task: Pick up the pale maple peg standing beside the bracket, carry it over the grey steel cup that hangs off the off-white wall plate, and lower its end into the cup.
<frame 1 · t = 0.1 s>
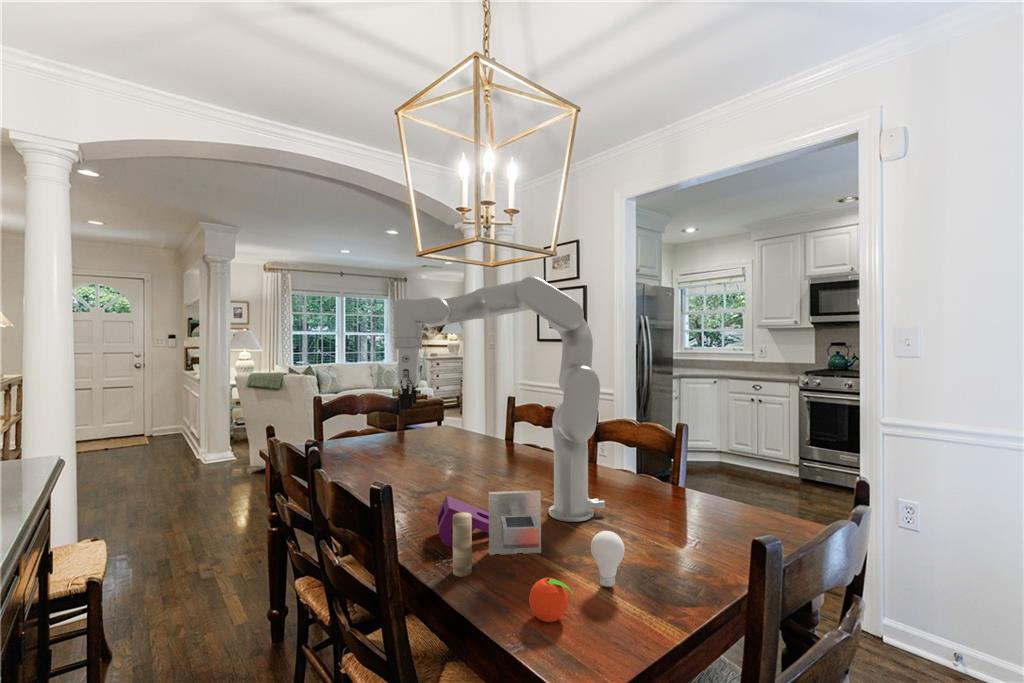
hand: (408, 406, 132), 31 cm above the table, tool pointing down, fingers open, 9 cm apart
clementine: (551, 620, 86), on the table
cup bracket: (519, 574, 102), on the table
light bulb: (607, 587, 97), on the table
mounting bracket: (475, 538, 121), on the table
maple peg: (462, 571, 103), on the table
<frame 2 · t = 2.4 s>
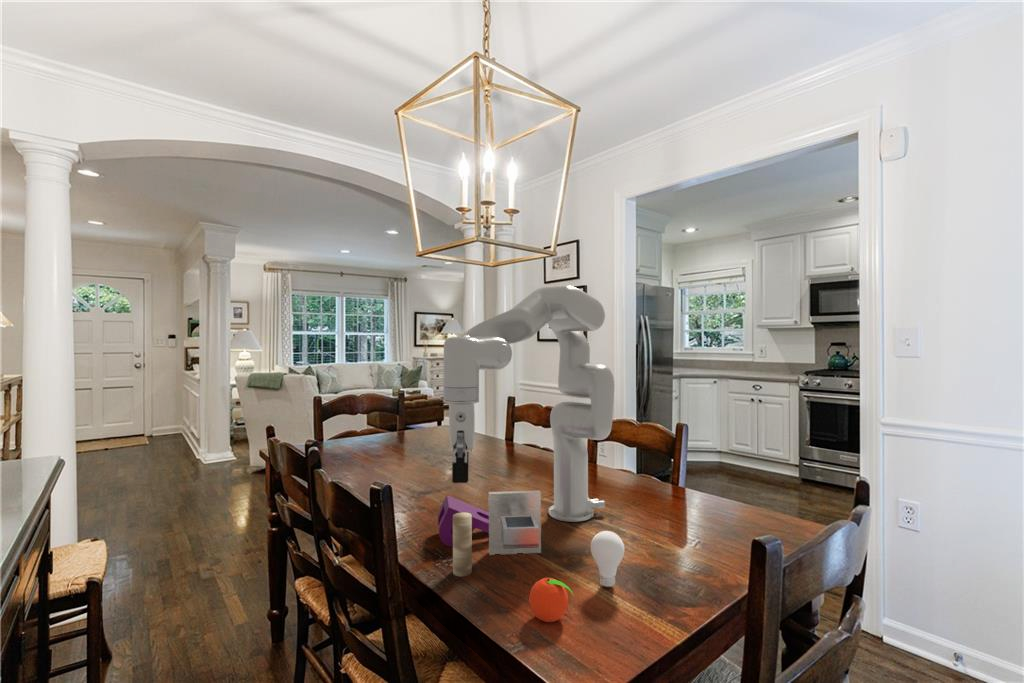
hand: (460, 475, 103), 21 cm above the table, tool pointing down, fingers open, 9 cm apart
nothing on the table moved.
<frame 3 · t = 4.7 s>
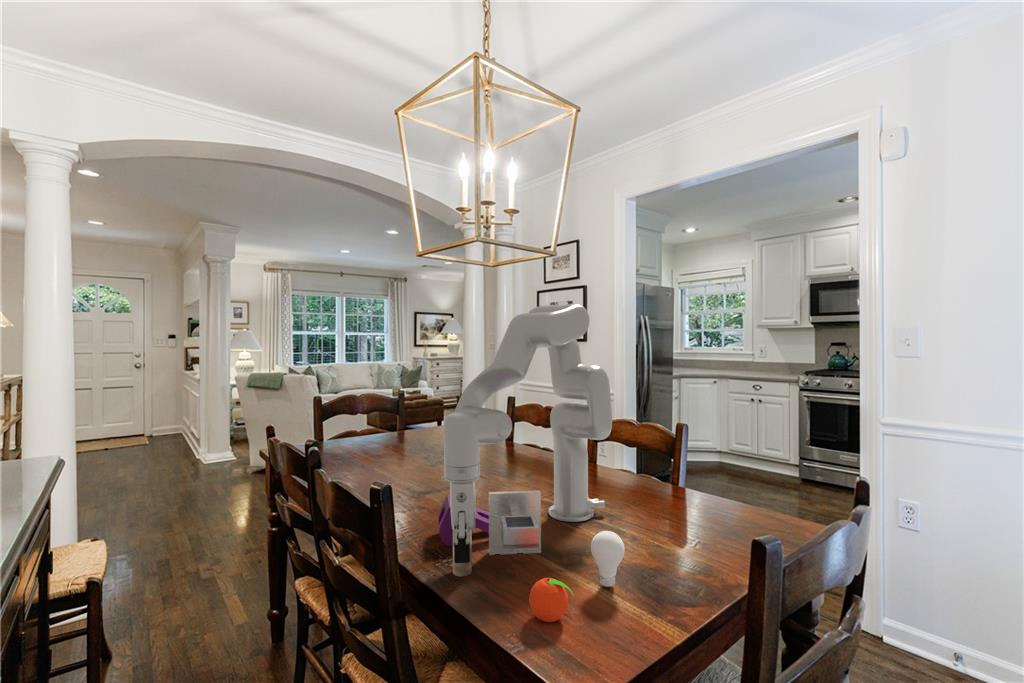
hand: (462, 556, 103), 3 cm above the table, tool pointing down, fingers closed on maple peg, 4 cm apart
maple peg: (462, 571, 103), on the table, touching gripper
everything else where it was.
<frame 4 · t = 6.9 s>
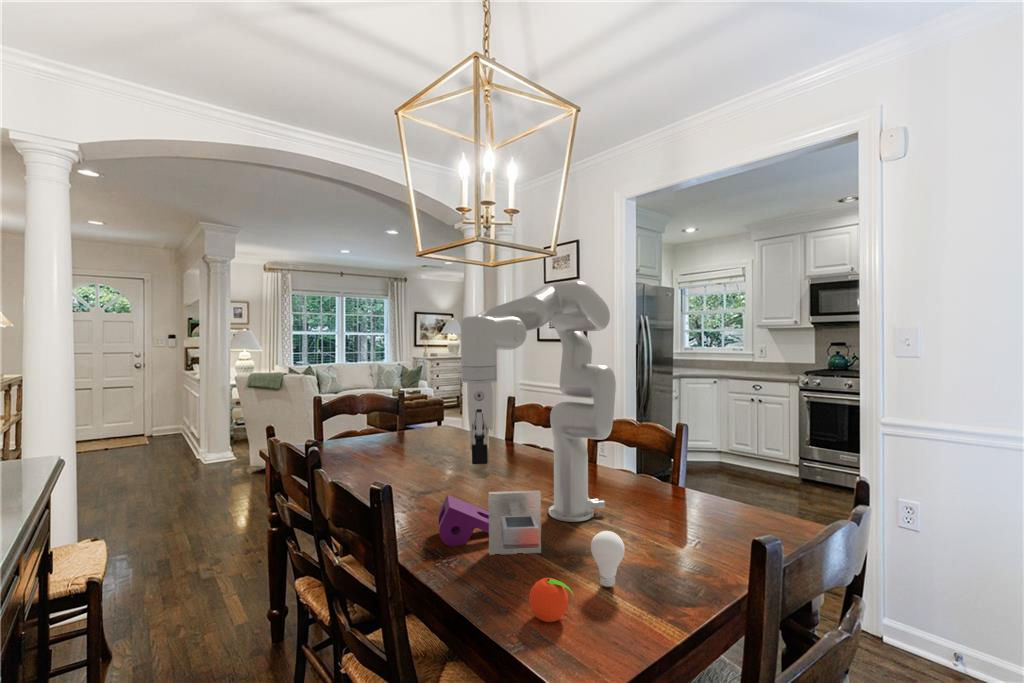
hand: (479, 460, 103), 24 cm above the table, tool pointing down, fingers closed on maple peg, 4 cm apart
maple peg: (479, 475, 103), point 21 cm above the table, touching gripper
everything else where it was.
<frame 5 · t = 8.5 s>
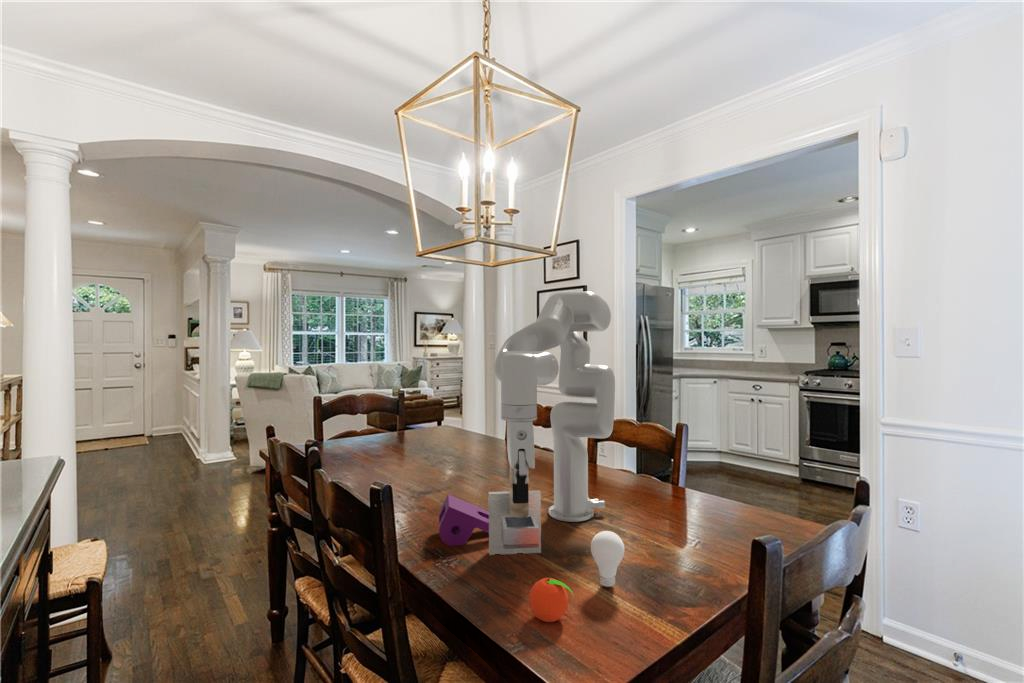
hand: (519, 498, 102), 16 cm above the table, tool pointing down, fingers closed on maple peg, 4 cm apart
maple peg: (519, 514, 102), point 13 cm above the table, touching gripper
everything else where it was.
when the fingers open (13 cm above the table, at t = 9.5 s): maple peg drops 1 cm, resting on cup bracket.
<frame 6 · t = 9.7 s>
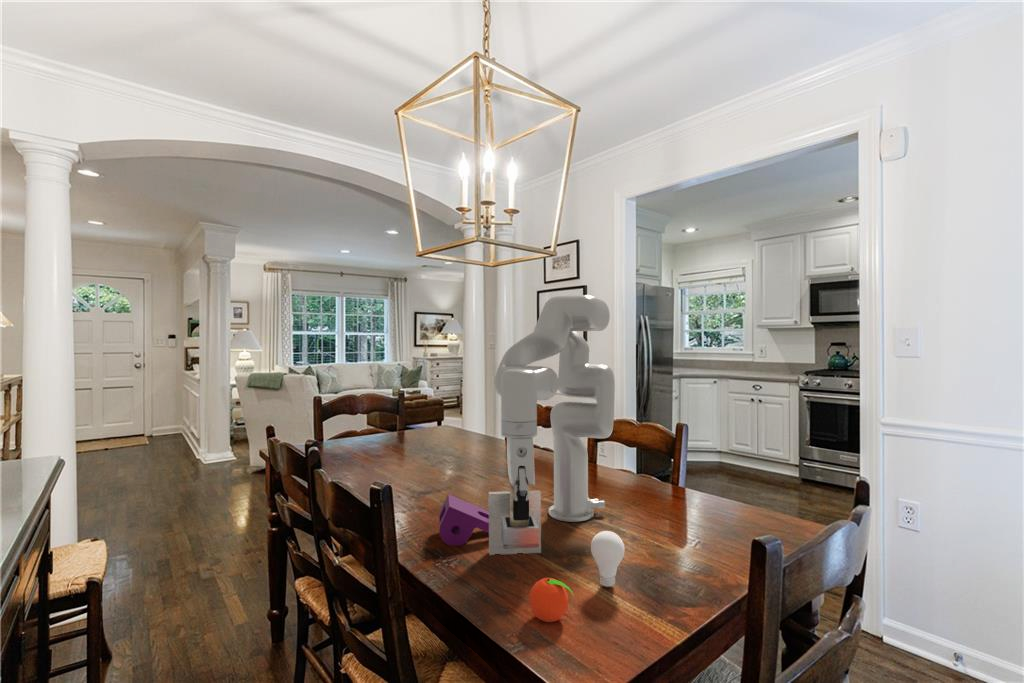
hand: (519, 512, 102), 13 cm above the table, tool pointing down, fingers open, 6 cm apart
maple peg: (519, 536, 102), point 8 cm above the table, touching cup bracket
everything else where it was.
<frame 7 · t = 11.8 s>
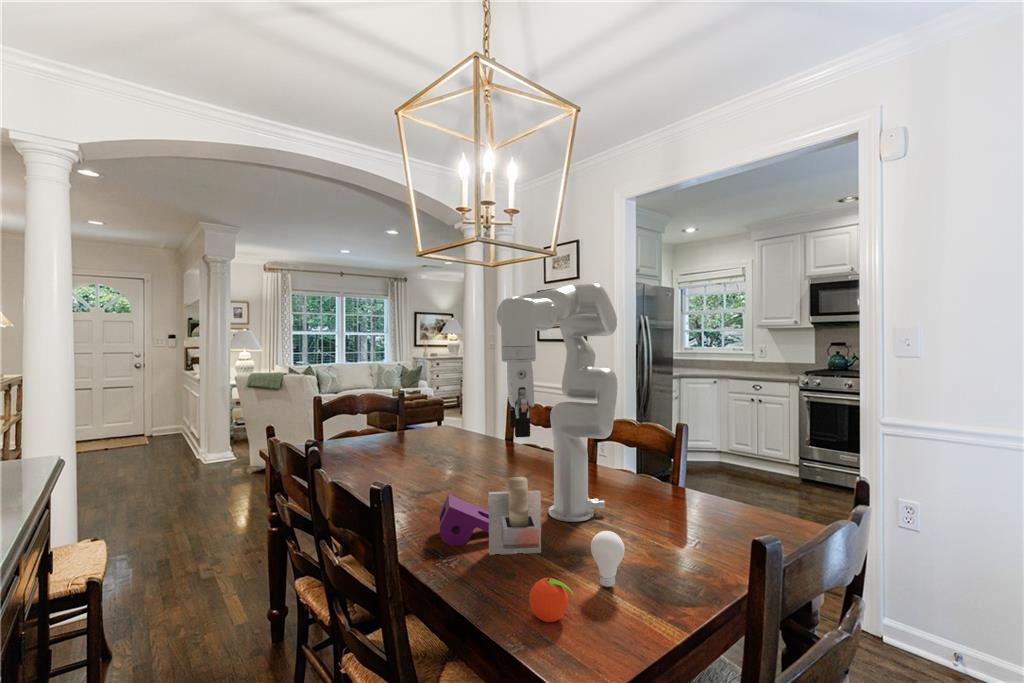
hand: (519, 431, 107), 29 cm above the table, tool pointing down, fingers open, 9 cm apart
nothing on the table moved.
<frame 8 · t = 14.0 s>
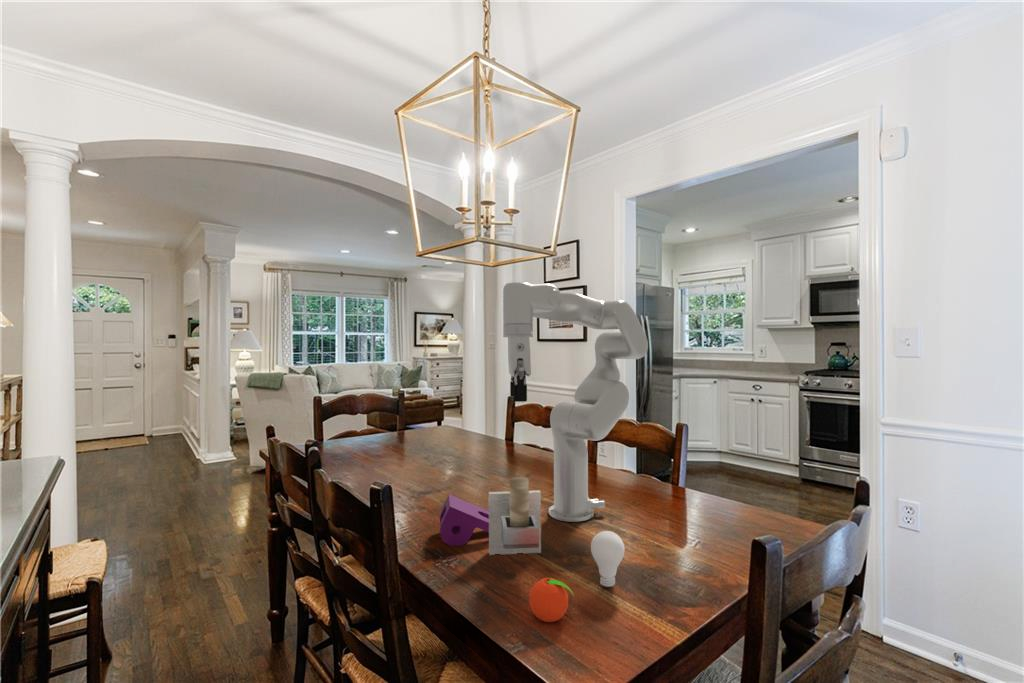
hand: (518, 398, 123), 34 cm above the table, tool pointing down, fingers open, 9 cm apart
nothing on the table moved.
at the end: maple peg 0.1 cm off-centre on the cup bracket, point 8.0 cm above the cup bracket's base; maple peg tilted 1°; the gripper is holding nothing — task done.
